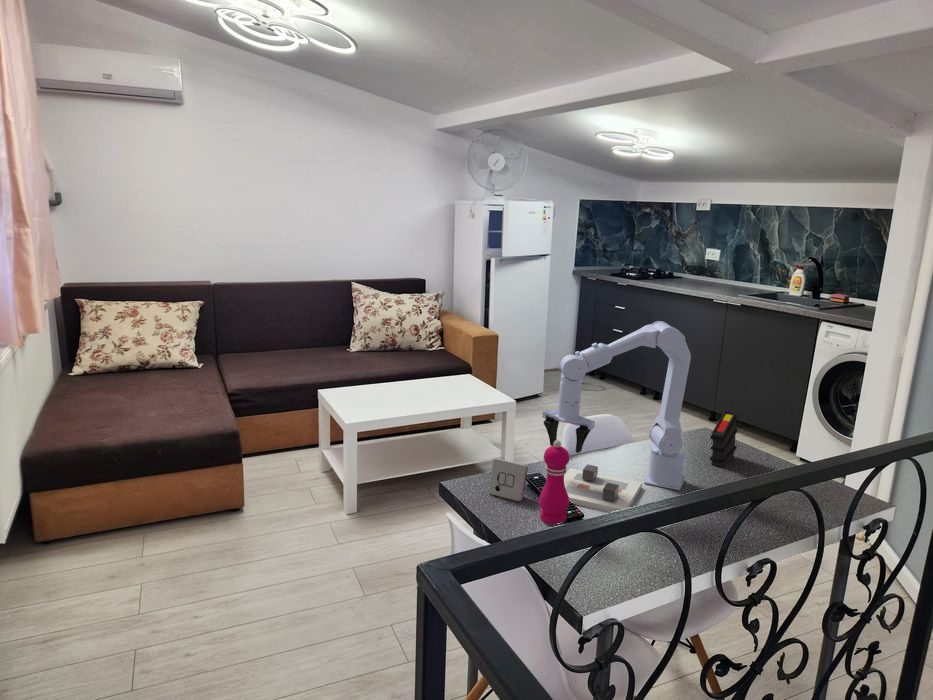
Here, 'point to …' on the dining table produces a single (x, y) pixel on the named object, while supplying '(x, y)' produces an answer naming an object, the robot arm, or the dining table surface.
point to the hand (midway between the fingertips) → (565, 448)
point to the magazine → (724, 439)
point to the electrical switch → (508, 479)
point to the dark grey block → (590, 472)
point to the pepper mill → (554, 485)
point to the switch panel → (599, 491)
